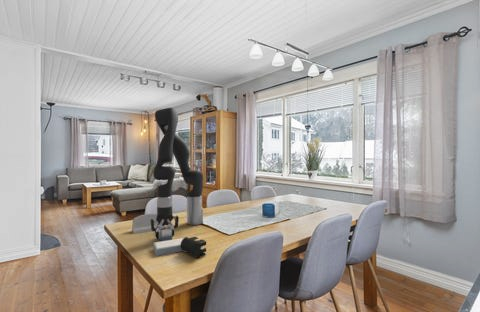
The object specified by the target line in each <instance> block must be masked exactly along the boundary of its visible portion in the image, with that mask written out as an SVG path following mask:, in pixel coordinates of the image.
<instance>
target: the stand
mask: <svg viewBox="0 0 480 312" xmlns="http://www.w3.org/2000/svg"><path fill="white" fill-rule="evenodd" d="M183 239H184V237H183V238H182V237H181V238H175V239H172V240H168V241H161V242H160V241H157V242H156V241H155V242H153V243H152V244H153V245H152V249H153V252H154V254H155V256H156V257H157V256H163V255H164V256H165V255H170V254H175V253H179V252H180V253H181V252H184V251H183V250H182V249H181V241H182V240H183Z"/></svg>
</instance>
